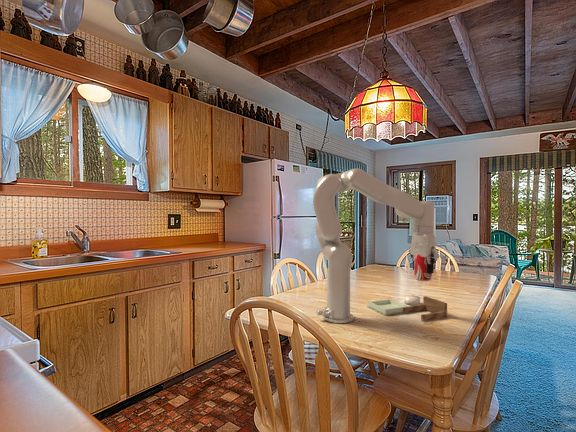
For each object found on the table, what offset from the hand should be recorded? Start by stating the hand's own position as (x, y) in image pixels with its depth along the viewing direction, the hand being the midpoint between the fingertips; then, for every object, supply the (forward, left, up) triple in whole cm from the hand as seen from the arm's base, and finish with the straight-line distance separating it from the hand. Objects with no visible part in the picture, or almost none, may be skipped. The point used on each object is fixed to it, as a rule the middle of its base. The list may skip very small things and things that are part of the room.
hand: (422, 271), depth 141 cm
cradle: (0, 0, -19) cm, 19 cm away
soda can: (0, 0, -4) cm, 4 cm away
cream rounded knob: (+8, +15, -19) cm, 26 cm away
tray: (-9, +12, -19) cm, 24 cm away
